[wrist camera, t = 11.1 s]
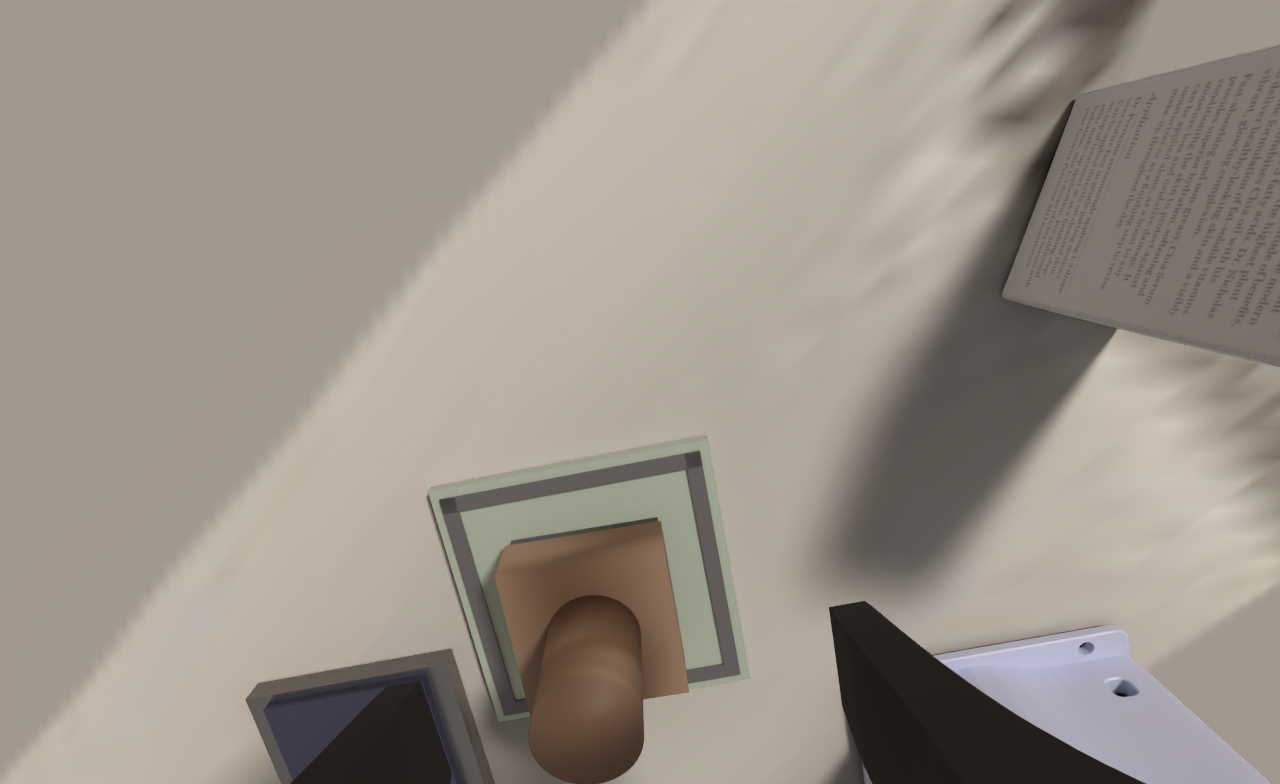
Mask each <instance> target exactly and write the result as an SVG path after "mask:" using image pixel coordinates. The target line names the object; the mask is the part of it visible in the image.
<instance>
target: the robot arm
mask: <svg viewBox="0 0 1280 784" xmlns="http://www.w3.org/2000/svg"><path fill="white" fill-rule="evenodd" d="M829 611H830V618H831V625H832V633H833V640H834V647H835V655H836V662H837V670H838V677H839V684H840V692H841V699H842V706H843V709H844V712H845V715H846V717H847V720H848V723H849V726H850V729H851V732H852V735H853V738H854V740H855V743H856V746H857V749H858V751H859V754H860V757H861V760H862V767H863V775H864V782H865V784H1270V783H1269V782H1268V781H1267V780H1266V779H1265V778H1264V777H1263V776H1262V775H1261V774H1260V773H1258V772H1257V771H1256V770H1255V769H1254V768H1253V767H1252V766H1251V765H1250V764H1248V763H1247V762H1246V761H1245V760H1244V759H1243V758H1242V757H1241V756H1240V755H1239V754H1238V753H1236V752H1235V751H1234V750H1233V749H1232V748H1231V747H1230V746H1229V745H1228V744H1227V743H1225V742H1224V741H1223V740H1222V739H1221V738H1220V737H1219V736H1218V735H1217V734H1215V733H1214V732H1213V731H1212V730H1211V729H1210V728H1209V727H1208V726H1207V725H1206V724H1204V723H1203V722H1202V721H1201V720H1200V719H1199V718H1198V717H1197V716H1196V715H1194V714H1193V713H1192V712H1191V711H1190V710H1189V709H1188V708H1187V707H1186V706H1185V705H1184V704H1182V703H1181V702H1180V701H1179V700H1178V699H1177V698H1176V697H1175V696H1174V695H1173V694H1171V693H1170V692H1169V691H1168V690H1167V689H1166V688H1165V687H1164V686H1163V685H1161V684H1160V683H1159V682H1158V681H1157V680H1156V679H1155V678H1154V677H1153V676H1152V675H1151V674H1149V673H1148V672H1147V671H1146V670H1145V669H1144V668H1143V667H1142V666H1141V665H1140V664H1138V663H1137V662H1136V661H1135V660H1134V659H1133V658H1132V657H1131V656H1129V636H1128V635H1127V634H1126V632H1124V631H1123V630H1122V629H1121V628H1120V627H1118V626H1116V625H1106V626H1100V627H1094V628H1089V629H1083V630H1077V631H1071V632H1066V633H1060V634H1054V635H1048V636H1043V637H1037V638H1031V639H1025V640H1020V641H1014V642H1008V643H1003V644H997V645H991V646H985V647H980V648H974V649H968V650H962V651H957V652H951V653H945V654H939V655H934V656H932V655H931V654H930V653H929V652H927V651H926V650H925V649H923V648H922V647H921V646H920V645H918V644H917V643H916V642H915V641H913V640H912V639H911V638H910V637H908V636H907V635H906V634H905V633H903V632H902V631H901V630H900V629H899V628H897V627H896V626H895V625H894V624H893V623H891V622H890V621H889V620H888V619H887V618H885V617H884V616H883V615H882V614H881V613H879V612H878V611H877V610H876V609H875V608H873V607H872V606H871V605H870V604H868V603H867V602H865V601H862V602H856V603H851V604H845V605H840V606H834V607H829ZM1085 642H1086V644H1085V645H1084V646H1082V647H1080V646H1081V645H1082V644H1083V643H1085ZM1079 647H1080V648H1079ZM451 777H452V771H451V768H450V765H449V762H448V759H447V757H446V754H445V751H444V748H443V745H442V742H441V739H440V736H439V733H438V730H437V727H436V724H435V721H434V718H433V715H432V712H431V709H430V706H429V704H428V701H427V698H426V695H425V692H424V689H423V686H422V683H421V680H420V681H414V682H408V683H403V684H397V685H392V686H387V687H386V688H385V689H384V690H383V691H381V692H380V693H379V694H378V695H377V696H376V697H375V698H374V699H373V700H372V701H371V702H370V703H369V704H368V705H367V706H366V707H365V708H364V709H363V710H362V711H361V712H360V713H359V714H358V715H357V716H356V717H355V718H354V719H353V720H352V721H351V722H350V723H349V724H348V725H347V726H346V727H345V728H344V729H343V730H342V731H341V732H340V733H339V734H338V736H337V737H336V738H335V739H334V740H333V741H332V742H331V743H330V744H329V745H328V746H327V747H326V748H325V749H324V750H323V751H322V752H321V753H320V754H319V755H318V756H317V757H316V758H315V759H314V760H313V761H312V762H311V763H310V764H309V765H308V766H307V767H306V768H305V769H304V770H303V771H302V772H301V773H300V774H299V775H298V776H297V777H296V778H295V779H294V780H293V781H292V782H291V783H290V784H450V783H451Z"/></svg>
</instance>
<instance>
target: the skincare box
mask: <svg viewBox="0 0 1280 784" xmlns="http://www.w3.org/2000/svg"><path fill="white" fill-rule="evenodd" d="M1002 296H1003V298H1005V299H1007V300H1010V301H1014V302H1017V303H1021V304H1025V305H1029V306H1033V307H1036V308H1040V309H1043V310H1047V311H1051V312H1055V313H1058V314H1062V315H1066V316H1070V317H1074V318H1078V319H1082V320H1086V321H1090V322H1094V323H1098V324H1102V325H1106V326H1110V327H1114V328H1118V329H1122V330H1126V331H1130V332H1134V333H1138V334H1142V335H1147V336H1151V337H1155V338H1159V339H1164V340H1168V341H1172V342H1176V343H1180V344H1184V345H1189V346H1193V347H1197V348H1201V349H1205V350H1209V351H1214V352H1218V353H1222V354H1226V355H1230V356H1234V357H1239V358H1243V359H1247V360H1251V361H1255V362H1259V363H1264V364H1268V365H1272V366H1276V367H1280V44H1276V45H1272V46H1268V47H1264V48H1260V49H1256V50H1252V51H1248V52H1243V53H1239V54H1235V55H1231V56H1227V57H1223V58H1218V59H1214V60H1211V61H1206V62H1202V63H1199V64H1194V65H1190V66H1186V67H1182V68H1178V69H1174V70H1170V71H1166V72H1162V73H1158V74H1154V75H1150V76H1146V77H1142V78H1138V79H1134V80H1130V81H1126V82H1121V83H1117V84H1114V85H1110V86H1106V87H1102V88H1098V89H1094V90H1090V91H1087V92H1084V93H1082V94H1080V95H1079V96H1078V97H1077V98H1076V100H1075V103H1074V106H1073V108H1072V111H1071V114H1070V117H1069V119H1068V122H1067V124H1066V127H1065V130H1064V132H1063V135H1062V138H1061V140H1060V143H1059V146H1058V148H1057V151H1056V154H1055V156H1054V159H1053V161H1052V164H1051V167H1050V169H1049V172H1048V175H1047V177H1046V180H1045V183H1044V185H1043V188H1042V190H1041V193H1040V196H1039V198H1038V201H1037V203H1036V206H1035V209H1034V211H1033V214H1032V217H1031V219H1030V222H1029V224H1028V227H1027V230H1026V232H1025V235H1024V238H1023V240H1022V243H1021V245H1020V248H1019V250H1018V253H1017V256H1016V258H1015V261H1014V264H1013V266H1012V269H1011V272H1010V274H1009V277H1008V279H1007V282H1006V284H1005V287H1004V289H1003V292H1002Z"/></svg>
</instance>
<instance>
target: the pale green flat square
mask: <svg viewBox="0 0 1280 784" xmlns="http://www.w3.org/2000/svg"><path fill="white" fill-rule="evenodd" d="M428 494H429V497H430V501H431V504H432V507H433V510H434V514H435V517H436V520H437V523H438V527H439V530H440V533H441V536H442V540H443V543H444V546H445V549H446V553H447V556H448V559H449V562H450V566H451V569H452V572H453V575H454V579H455V582H456V585H457V588H458V592H459V595H460V598H461V601H462V605H463V608H464V611H465V614H466V618H467V621H468V624H469V627H470V631H471V634H472V637H473V640H474V644H475V647H476V650H477V654H478V657H479V660H480V663H481V667H482V670H483V673H484V676H485V680H486V683H487V686H488V689H489V693H490V696H491V699H492V702H493V706H494V709H495V712H496V715H497V719H498V722H503V721H509V720H515V719H521V718H526V717H532V716H530V713H529V709H528V705H527V701H526V697H525V693H524V690H523V686H522V682H521V678H520V674H519V670H518V666H517V662H516V659H515V655H514V651H513V647H512V643H511V639H510V635H509V631H508V628H507V624H506V620H505V616H504V612H503V608H502V604H501V600H500V597H499V593H498V589H497V585H496V581H495V577H494V576H495V573H496V570H497V567H498V565H499V562H500V559H501V556H502V553H503V551H504V548H505V546H507V545H510V544H511V541H512V540H518V539H524V538H530V537H536V536H542V535H549V534H555V533H561V532H567V531H574V530H580V529H586V528H592V527H598V526H605V525H611V524H617V523H623V522H630V521H636V520H642V519H648V518H655V517H658V521H661V525H662V530H663V536H664V542H665V547H666V553H667V559H668V564H669V570H670V576H671V581H672V587H673V593H674V598H675V604H676V610H677V615H678V621H679V627H680V632H681V638H682V644H683V649H684V655H685V664H686V672H687V680H688V688H689V689H692V688H698V687H704V686H710V685H715V684H721V683H727V682H732V681H738V680H744V679H750V675H749V669H748V664H747V658H746V653H745V647H744V641H743V636H742V630H741V625H740V619H739V613H738V608H737V602H736V596H735V591H734V585H733V580H732V574H731V568H730V563H729V557H728V552H727V546H726V540H725V535H724V529H723V523H722V518H721V512H720V507H719V501H718V495H717V490H716V484H715V479H714V473H713V467H712V462H711V456H710V451H709V445H708V439H707V436H700V437H695V438H690V439H685V440H679V441H674V442H669V443H663V444H658V445H653V446H648V447H642V448H637V449H632V450H626V451H621V452H616V453H610V454H605V455H600V456H595V457H589V458H584V459H579V460H573V461H568V462H563V463H558V464H552V465H547V466H542V467H536V468H531V469H526V470H521V471H515V472H510V473H505V474H499V475H494V476H489V477H484V478H478V479H473V480H468V481H462V482H457V483H452V484H447V485H441V486H436V487H431V489H430V490H429V492H428Z"/></svg>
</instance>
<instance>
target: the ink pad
mask: <svg viewBox="0 0 1280 784" xmlns="http://www.w3.org/2000/svg"><path fill="white" fill-rule="evenodd" d="M420 680H421V683H422V686H423V689H424V692H425V695H426V698H427V701H428V704H429V706H430V709H431V712H432V715H433V718H434V721H435V724H436V727H437V730H438V733H439V736H440V739H441V742H442V745H443V748H444V751H445V754H446V757H447V759H448V762H449V765H450V768H451V771H452V777H451V783H450V784H494V781H493V778H492V775H491V771H490V768H489V765H488V762H487V759H486V756H485V753H484V750H483V746H482V743H481V740H480V737H479V734H478V731H477V728H476V724H475V721H474V718H473V715H472V712H471V709H470V706H469V703H468V699H467V696H466V693H465V690H464V687H463V684H462V681H461V677H460V674H459V671H458V668H457V665H456V662H455V659H454V656H453V652H452V649H447V650H442V651H436V652H430V653H425V654H419V655H414V656H408V657H403V658H397V659H391V660H386V661H380V662H375V663H369V664H364V665H358V666H352V667H347V668H341V669H336V670H330V671H325V672H319V673H313V674H308V675H302V676H297V677H291V678H286V679H280V680H274V681H269V682H263V683H258V684H257V685H256V687H255V688H254V689H253V691H252V692H251V693H250V695H249V696H248V697H247V698H246V702H247V704H248V706H249V709H250V711H251V713H252V716H253V718H254V720H255V723H256V725H257V727H258V730H259V732H260V734H261V737H262V739H263V741H264V744H265V746H266V749H267V751H268V753H269V756H270V758H271V760H272V763H273V765H274V767H275V770H276V772H277V774H278V777H279V779H280V781H281V784H290V783H291V782H292V781H293V780H294V779H295V778H296V777H297V776H298V775H299V774H300V773H301V772H302V771H303V770H304V769H305V768H306V767H307V766H308V765H309V764H310V763H311V762H312V761H313V760H314V759H315V758H316V757H317V756H318V755H319V754H320V753H321V752H322V751H323V750H324V749H325V748H326V747H327V746H328V745H329V744H330V743H331V742H332V741H333V740H334V739H335V738H336V737H337V736H338V734H339V733H340V732H341V731H342V730H343V729H344V728H345V727H346V726H347V725H348V724H349V723H350V722H351V721H352V720H353V719H354V718H355V717H356V716H357V715H358V714H359V713H360V712H361V711H362V710H363V709H364V708H365V707H366V706H367V705H368V704H369V703H370V702H371V701H372V700H373V699H374V698H375V697H376V696H377V695H378V694H379V693H380V692H381V691H383V690H384V689H385V688H386V687H387V686H392V685H397V684H403V683H408V682H414V681H420Z"/></svg>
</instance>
